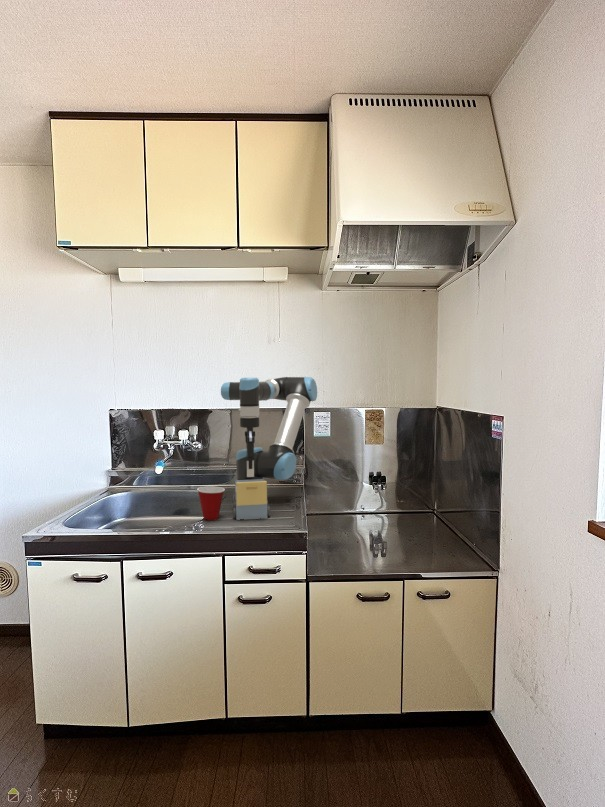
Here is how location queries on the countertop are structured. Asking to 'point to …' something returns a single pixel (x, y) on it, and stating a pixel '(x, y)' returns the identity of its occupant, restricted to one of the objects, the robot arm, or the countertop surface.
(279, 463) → the robot arm
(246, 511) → the box
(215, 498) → the plastic cup
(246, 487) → the panel
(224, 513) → the countertop surface
